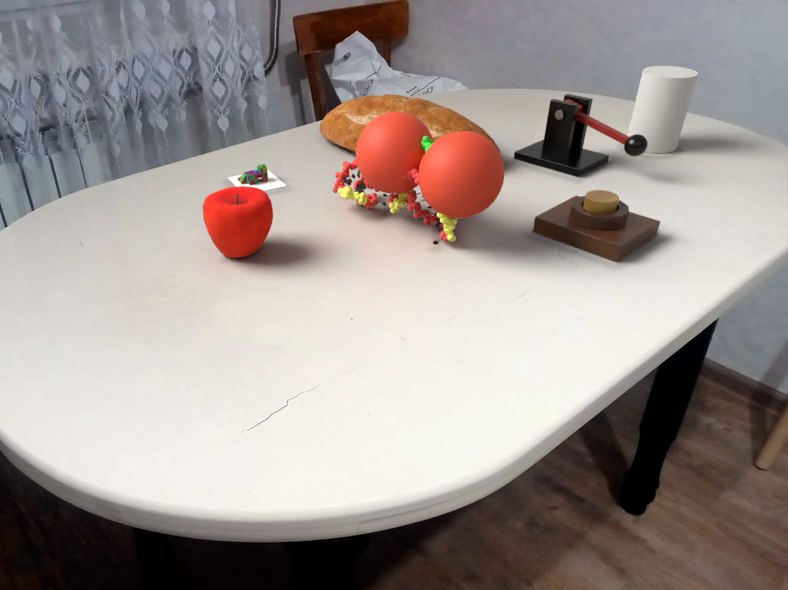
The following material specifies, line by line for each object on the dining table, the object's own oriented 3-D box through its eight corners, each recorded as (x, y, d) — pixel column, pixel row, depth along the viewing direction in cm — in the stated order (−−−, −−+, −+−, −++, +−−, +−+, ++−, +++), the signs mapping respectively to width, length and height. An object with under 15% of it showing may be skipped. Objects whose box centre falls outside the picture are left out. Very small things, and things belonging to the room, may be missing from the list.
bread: (352, 120, 129) (352, 73, 124) (520, 155, 111) (528, 101, 106) (294, 145, 119) (292, 94, 113) (470, 188, 100) (476, 129, 95)
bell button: (621, 208, 84) (625, 195, 83) (605, 218, 82) (609, 204, 81) (593, 199, 87) (596, 187, 86) (576, 208, 85) (579, 195, 84)
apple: (266, 270, 81) (261, 211, 76) (198, 265, 82) (189, 207, 78) (283, 238, 88) (279, 182, 84) (220, 234, 90) (213, 179, 85)
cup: (671, 138, 116) (692, 66, 109) (680, 154, 109) (703, 78, 102) (622, 136, 117) (639, 65, 110) (628, 152, 111) (647, 77, 104)
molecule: (516, 228, 88) (526, 124, 77) (471, 276, 84) (475, 173, 72) (370, 174, 101) (359, 78, 89) (324, 213, 96) (307, 118, 85)
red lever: (645, 157, 100) (655, 137, 97) (634, 162, 98) (645, 142, 96) (563, 114, 107) (571, 95, 104) (552, 119, 105) (560, 99, 103)
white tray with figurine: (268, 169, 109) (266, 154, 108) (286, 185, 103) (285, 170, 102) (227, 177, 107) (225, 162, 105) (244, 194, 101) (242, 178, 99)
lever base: (608, 162, 107) (622, 100, 102) (578, 177, 103) (591, 113, 97) (543, 145, 115) (553, 87, 109) (513, 158, 110) (522, 98, 104)
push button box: (656, 236, 85) (664, 207, 83) (617, 262, 80) (625, 232, 78) (573, 210, 93) (578, 182, 91) (532, 232, 88) (537, 203, 85)
